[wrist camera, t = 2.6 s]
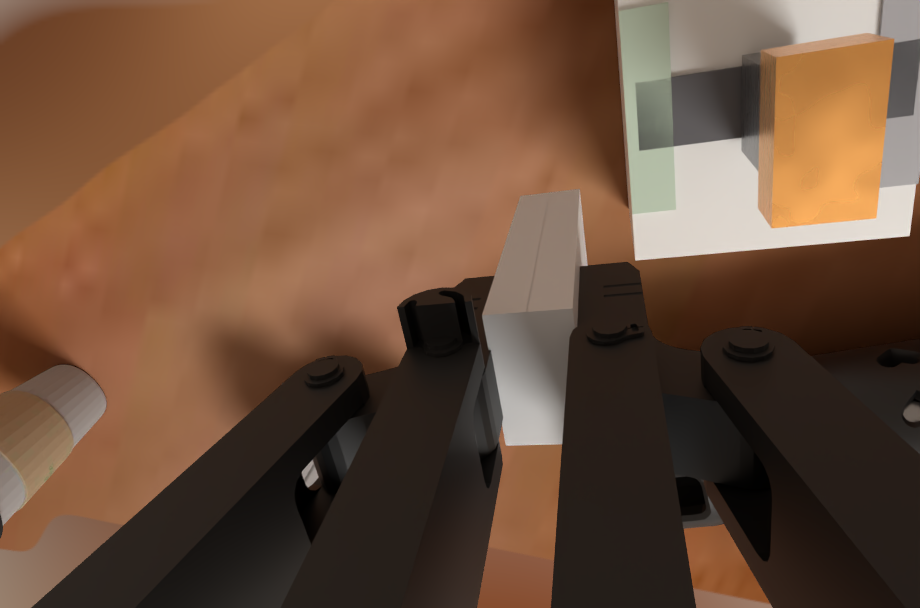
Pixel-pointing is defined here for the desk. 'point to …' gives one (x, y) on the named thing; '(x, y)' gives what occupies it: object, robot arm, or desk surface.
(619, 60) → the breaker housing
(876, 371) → the muzzle brake
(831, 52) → the breaker toggle
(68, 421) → the coffee cup
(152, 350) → the desk surface
